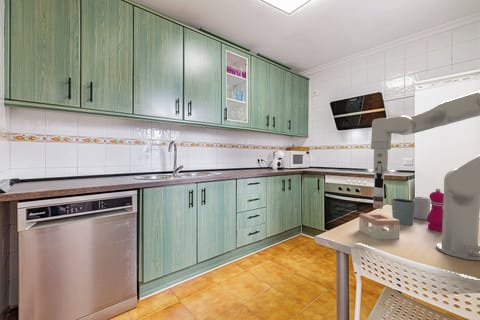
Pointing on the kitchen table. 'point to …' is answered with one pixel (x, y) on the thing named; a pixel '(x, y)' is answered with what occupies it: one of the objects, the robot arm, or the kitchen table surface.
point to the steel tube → (378, 195)
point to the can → (421, 208)
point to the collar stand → (379, 226)
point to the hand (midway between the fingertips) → (378, 186)
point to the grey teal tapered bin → (403, 210)
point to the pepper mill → (436, 211)
